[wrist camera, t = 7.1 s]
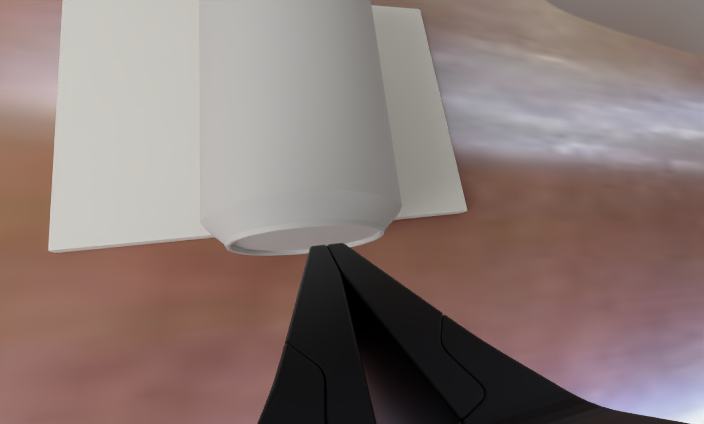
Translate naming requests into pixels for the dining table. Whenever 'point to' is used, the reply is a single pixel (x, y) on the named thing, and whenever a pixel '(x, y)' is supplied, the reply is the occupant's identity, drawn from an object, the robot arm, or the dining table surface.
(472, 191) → the dining table surface
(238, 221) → the can
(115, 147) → the mat
